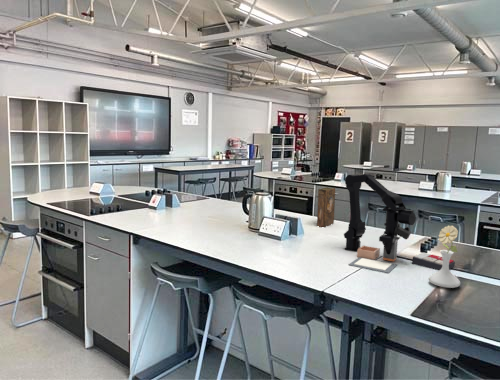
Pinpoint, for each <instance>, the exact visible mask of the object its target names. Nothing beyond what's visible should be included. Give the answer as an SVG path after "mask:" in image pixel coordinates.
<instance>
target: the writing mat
mask: <svg viewBox="0 0 500 380" xmlns="http://www.w3.org/2000/svg"><path fill="white" fill-rule="evenodd" d="M348 266H351V267H355V268H360V269H363V270H364V269H365V270H369V271H374V272H375V271H376V272H379V273H384V274H390V273H391V272H392V271H393V270H394V269H395V268H397V266H398V264H396V263H391V262H387V261H386V262H385V261H382V260H381V261H380V260H377V259H375V260H371V259H366V258H361V257H357V258H355V259H354V260H353V261H351V262H350V263H349V264H348Z"/></svg>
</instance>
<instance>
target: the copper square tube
mask: <svg viewBox="0 0 500 380" xmlns="http://www.w3.org/2000/svg"><path fill="white" fill-rule="evenodd" d="M380 251H381V248H379V247H374V246H368V245H361V246H360V248H359V249H358V250H357V251H356V253H357V254H356V257H357V258H359V257H361V258H366V259H371V260H377V259H378V258H379V257H380V253H381V252H380Z"/></svg>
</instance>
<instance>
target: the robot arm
mask: <svg viewBox="0 0 500 380" xmlns="http://www.w3.org/2000/svg"><path fill="white" fill-rule="evenodd" d="M344 182H345V183H344V184H345V187H346V189H347V191H348V194H349V208H350V211H349V212H350V221H349V223H348V229H347V230H346V231H345V232H344V233H343V237H344V239H345V248H344V250H347V251H353V252H357V250H358V249H359V248H360V247H361V241H360V240H361V238H362V237H363V236H364V234H365V233H366V230H367V228H366V222H365V221H363V220H362V217H361V215H362V214H361V204H360V202H361V201H360V190H361V187H362V183H365V184H366V185H367V186H368V187H370V189H371V190H372V191H374V192H375V193H376V194H377V195H378V196H379V197H380V199H381V201H382V202H383V204H384V205H385V207H383V208H382V209H381V211H383V212H386V213H385V223H384V226H385V228H384V229H385V231H383V234H381V235H380V236H379V237H378V242H381V243H382V245H383V248H384V247H385V250H386V252H387V254H390V252H391V248H392V244H393V243H395V242H396V241H395V238H396V239H398V240H400V239H401V238H403V239H404V240H407V239H409V237H410V236H411V234H412V231H411V228H410V227H409V226H414V225H415V223H416V219H417V217H416V214H415V211H414V210H413V209H407V207H406V205H405V204H404V202H403V198H402V196H400V195H399V194H398V193H395V192H393V191H391V190H389V189H388V188H387V187H385V185H383V184H382V183H381V182H379V180H377V179H376V178H375V177H374V176H373V175H372V174H371V173H364V174H347V175H346V177H345V178H344ZM401 224H404V225H409V226H405V227H401Z"/></svg>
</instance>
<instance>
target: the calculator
mask: <svg viewBox="0 0 500 380" xmlns="http://www.w3.org/2000/svg"><path fill="white" fill-rule="evenodd" d="M411 262H412V263H411V264H413V265H416V266H420V267H425V268H427V269H432V270H435V271H439V270H441V268H442V264H443V258H442V256H439V255H436V254H431V253H426V252H421V253H418V254H416V255H414V256H412V261H411ZM455 264H456V261H454V260H453V259H451V258H450V260H449V271H451V270H452V269H453V267H454V268H455V266H456V265H455ZM451 268H452V269H451Z"/></svg>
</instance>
